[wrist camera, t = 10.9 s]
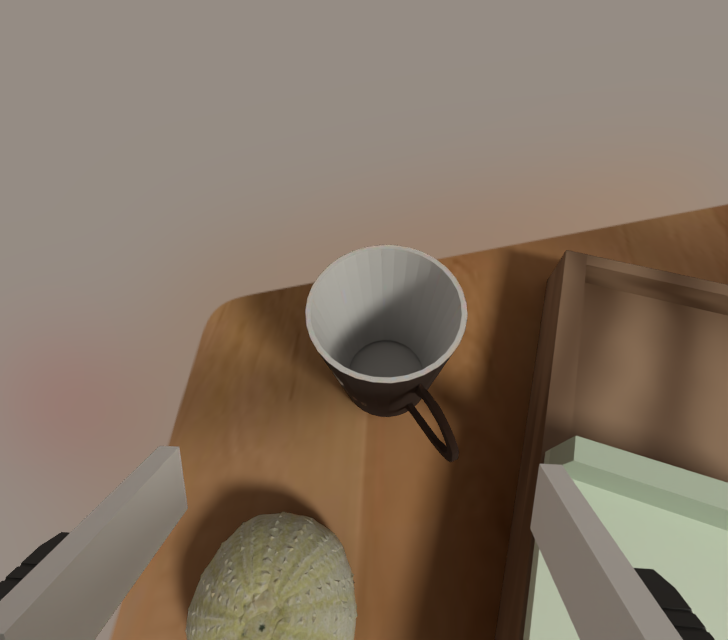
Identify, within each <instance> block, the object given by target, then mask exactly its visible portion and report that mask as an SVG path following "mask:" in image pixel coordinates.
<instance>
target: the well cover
mask: <svg viewBox="0 0 728 640" xmlns="http://www.w3.org/2000/svg"><path fill="white" fill-rule="evenodd" d="M544 464H558V465H563V467H564V468H565V470H566V471H567V473H568V474H569V476H570V477H571V479H572V480H573V481H574V483H575V484H576V486H577V487H578V489H579V490H580V492H581V493H582V494H583V496H584V497H585V499H586V500H587V502H588V503H589V505H590V506H591V507H592V509H593V510H594V512H595V513H596V515H597V516H598V518H599V519H600V520H601V522H602V523H603V525H604V526H605V528H606V529H607V531H608V532H609V533H610V535H611V536H612V538H613V539H614V541H615V542H616V544H617V545H618V546H619V548H620V549H621V551H622V552H623V554H624V555H625V557H626V558H627V559H628V561H629V562H630V564H631V565H632V567H633V568H644V569H654V570H655V571H656V572H657V573H658V574H659V575H661V576H662V577H663V578H664V579H665V580H667V581H668V582H669V583H670V584H671V585H672V586H674V587H675V588H676V590H677V591H678V592H679V593H680V595H681V596H682V597H683V599H684V600H685V601H686V603H687V604H688V605H689V606H690V608H691V609H692V612H693V614H696V616H697V617H698V618H699V619H700V621H701V622H702V623H703V625H704V626H705V627H706V631H707V632H710V634H711V635H712V636H713V638H714V639H715V640H728V483H727V482H724V481H720V480H717V479H714V478H711V477H707V476H704V475H701V474H698V473H695V472H691V471H688V470H685V469H682V468H679V467H675V466H672V465H669V464H666V463H663V462H659V461H656V460H653V459H650V458H646V457H643V456H640V455H637V454H634V453H630V452H627V451H624V450H621V449H618V448H614V447H611V446H608V445H605V444H602V443H598V442H595V441H592V440H589V439H585V438H582V437H579V436H574V437H572V438H570V439H568V440H566V441H565V442H563V443H561V444H559V445H557V446H555V447H553V448H551V449H550V450H548V451H546V452H545V459H544ZM523 640H580V639H579V637H578V634H577V632H576V630H575V628H574V625H573V623H572V621H571V619H570V616H569V614H568V612H567V610H566V607H565V605H564V603H563V601H562V598H561V596H560V594H559V592H558V589H557V587H556V585H555V583H554V581H553V578H552V576H551V574H550V572H549V569H548V567H547V565H546V563H545V560H544V558H543V556H542V554H541V551H540V549H539V547H538V545H537V542H536V540H535V544H534V552H533V561H532V569H531V577H530V586H529V594H528V603H527V611H526V620H525V628H524V637H523Z"/></svg>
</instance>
